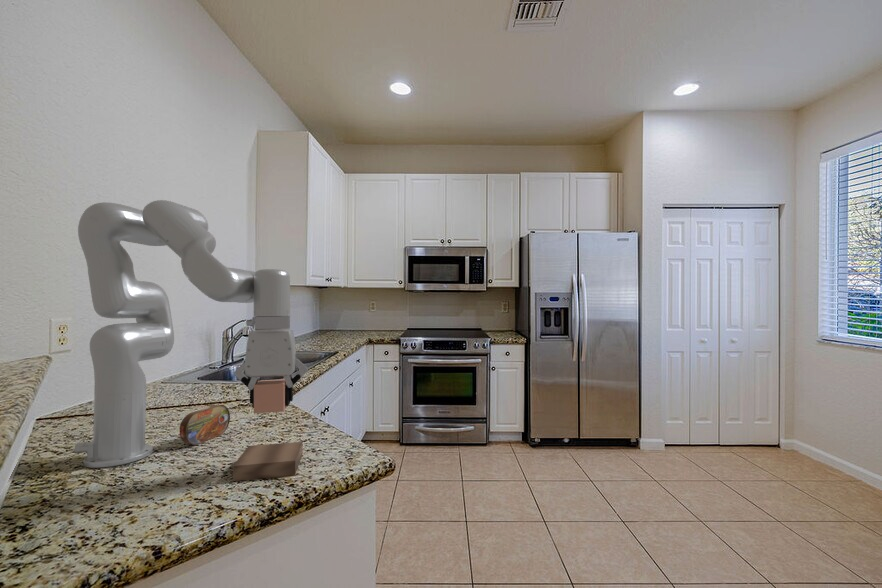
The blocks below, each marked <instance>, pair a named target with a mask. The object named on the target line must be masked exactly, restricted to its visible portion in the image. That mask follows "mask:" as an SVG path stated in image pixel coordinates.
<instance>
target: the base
mask: <svg viewBox="0 0 882 588" xmlns="http://www.w3.org/2000/svg"><path fill="white" fill-rule="evenodd" d="M303 443H304V442H303V441H294V442H293V441H292V442H283V443H282V442H281V443H270V444H269V443H268V444H257V445H256V444H255V445H253V444H252V445H248V446H247V447H246V449H245V450H244V451H243V452H242V453H241V455H240V456H239V458H238V459H237V460H236V462H235V463H234V464H233V465H232V482H235V481H236V482H238V481H247V480H257V479H268V478H278V477H280V478H281V477H287V476H288V477H289V476H296V475H297V474H296V473H297V472H298V469H299V466H300V463H301V461H302V460H301V459H302V457H303V455H302V454H303V450H304V449H303V445H304V444H303ZM296 471H297V472H296Z"/></svg>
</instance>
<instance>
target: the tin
mask: <svg viewBox="0 0 882 588" xmlns="http://www.w3.org/2000/svg"><path fill="white" fill-rule="evenodd" d="M185 415H186V416H184V417H183V419H182V420H181V422H180V424H179V437H180V440H181V442H182V443H184V444H186V445H194V446H198V445H202V444H203V442H204V443H206V442H208V441H210V440H213V439H215V438H218V437H219V436H221V435H223V434H224V433H225V432H226V431H227V429H228V427H229V425H230V422H231V421H230V420H231V414H230V410H229V408H228V407H227V406H226V405H225V404H214V405H211V406H207V407H204V408H201V409H198V410H194V411H192V412H189V413H187V414H185Z"/></svg>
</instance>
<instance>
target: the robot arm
mask: <svg viewBox="0 0 882 588" xmlns="http://www.w3.org/2000/svg"><path fill="white" fill-rule="evenodd" d="M77 236H78V239H79V240H78V241H79V245H80V246H81V250H82V252H83V255H84V258H85V261H86V267H87V274H88V281H89V282H88V283H89V288H90V295H91V302H92V305H93V310H94V311H95V313H96V314H97V315H98V316H100V317H101V318H106V319H116V320H117V319H135V321H136V322H125V323H122V322H121V323H114V324H108V325H105V326H103V327H99V328H98V330H96V331H95V332H94V333H93V334H92V335H91V337H90V341H89V352H90V357H91V361H92V367H93V372H94V373H93V376H94V378H93V379H94V385H93V387H94V388H93V390H94V391H93V392H94V394H93V395H94V396H93V397H94V398H93V403H94V404H93V437H92V440H91V441H84V442H83V441H82V442H77V443H76V444H75V445H74V450H73V453H74V454H82V453H85V454H86V456H85V457H84V458H83V461H82V462H83V466H84V467H86V468H94V469H99V468H100V469H101V468H110V467H115V466H116V467H117V466H122V465H125V464H129V463H134V462H136V461H139V460H141V459H144V458H146V457H148V456H150V455H151V454H152V453H153V451H154V448H153V445H152V444H151V445H150V444H149V443H146V417H147V415H146V414H147V409H146V407H147V379H146V378H147V377H146V374H145V373H144V370H143V369H142V367H141V365H140V364H139V362H143V361H150V360H156V359H160V358H162V357H165V356H167V355H168V354H170V352H171V351H172V349H173V347H174V344H175V331H174V325H173V318H172V312H171V305H170V301H169V297H168V295H167V294H168V293H166V291H165V290H164V288H162V286H160V285H159V284H158V283H155V282H152V281H145V280H144V281H141V280H137V278H136V275H135V270H134V263H133V261H132V258H131V256H130V254H129V253H128V252H127V250H126V248H124V247H123V246H122V244H121V242H122V241H123V242H128V243H132V244H138V245H143V246H151V247H165V246H167V247H168V248H169V249H171V250H172V251H173V253H174V254H176V255H177V256H178V257H179V258H180V259H181V260H180V264H181V269H182V272H183V273H184V276H185V277H186V279H187V280H189V282H190V283H191V284H192V285H193V286H195V288H197V289H198V290H199V291H200V292H201V293H202V294H204V295H205V296H206V297H208V298H209V299H212V301H213V300H214V301H215V302H218V303H219V302H220V303H238V304H240V303H243V304H244V303H245V304H247V303H248V304H250V303H253V317H252V318H251V319H246V327H252V329H253V331H252V330H251V331H250V330H249V332H248V335H247V342H246V350H245V360H244V362H243V363H241V365H240V366H239V367H238V368H237V369H235V371H234V372H233V375H234V377H235V378H237V380H239V381H240V383H242V384H243V385H244V386H246V388H247V389H248V390H249V404H250V405H251V406H252V407H251V408H252V409H254V385H255V384H256V383H258V382H259V381H260V378H269V377H270V378H273V377H283V379H285V382H286V384H287V385H286V388H285V406H287V407H289V406H290V404H291V402H293V400H294V385H296V384H297V382H298V381H299V380H300V379H302V377H303V376H304V375H305V374H306V373H308V371H309V367H307V366H306V365H305V364H304V363H303V362H302V361H301V360H300V359H299V358H297V351H296V349H297V348H296V347H297V346H296V339H295V334H294V331H293V329H291V312H290V311H291V276H290V273H289V272H288V271H286V270H283V269H277V268H275V269H274V268H264V269H263V268H262V269H259V270H257V271H252V270H247V269H246V270H245V269H241V268H234V267H227V266H226V265H224V264H223V263H222V262H220V261H219V260H218V259H217V258H216V257H215V256H214V255H213V252H214V251H215V249H216V246H217V241H216V238H215V236H214V234H212V233H210V232H209V223H208V220H207V218H206V217H205V216H204V214H203V213H202V212H200V211H199V210H196V209H195V208H192V207H188V206H186V205H182V204H180V203H177V202H174V201H171V200H163V199H159V200H158V199H157V200H153V201H151V202H149V203H147V204H146V205H145V206H144V208H143V209H139V208H135V207H131V206H128V205H124V204H121V203H115V202H105V201H104V202H98V203H94V204H92V205H90V206H88V207H87V208H86V209H85V210H84V211H83V213H82V215H80V219H79V221H78V227H77ZM297 369H299V372H297V373H296V375H294V376H293V375H292V374H293V373H294V372H295V371H296V370H297Z"/></svg>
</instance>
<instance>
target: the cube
mask: <svg viewBox="0 0 882 588" xmlns="http://www.w3.org/2000/svg"><path fill="white" fill-rule="evenodd" d="M286 385H287V384H286V382H285V379H284V378H281V379H261V380H260V379H259V381H258V383H256V384H255V385H254V408H253V414H266V413H267V414H268V413H269V414H270V413H282V412H284V411H286V409H287V408H288V406H285V388H286Z"/></svg>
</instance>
